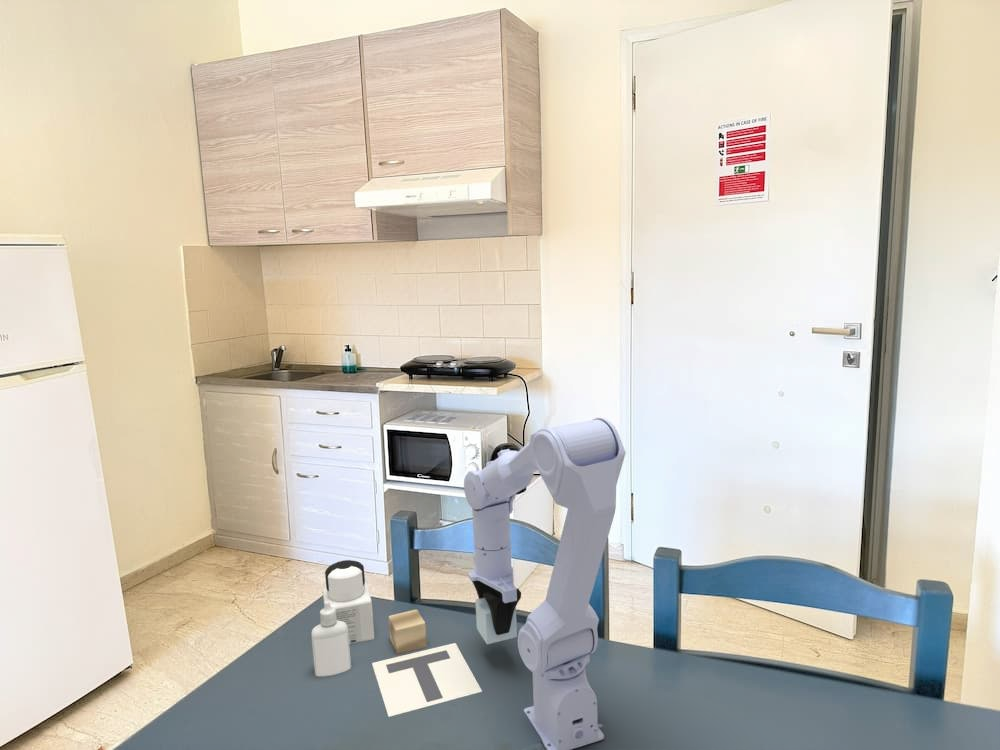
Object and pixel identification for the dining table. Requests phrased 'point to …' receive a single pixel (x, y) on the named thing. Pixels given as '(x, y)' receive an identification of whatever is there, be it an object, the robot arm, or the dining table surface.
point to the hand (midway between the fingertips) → (496, 624)
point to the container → (350, 598)
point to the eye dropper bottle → (330, 644)
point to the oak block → (407, 631)
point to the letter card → (424, 679)
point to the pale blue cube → (491, 623)
